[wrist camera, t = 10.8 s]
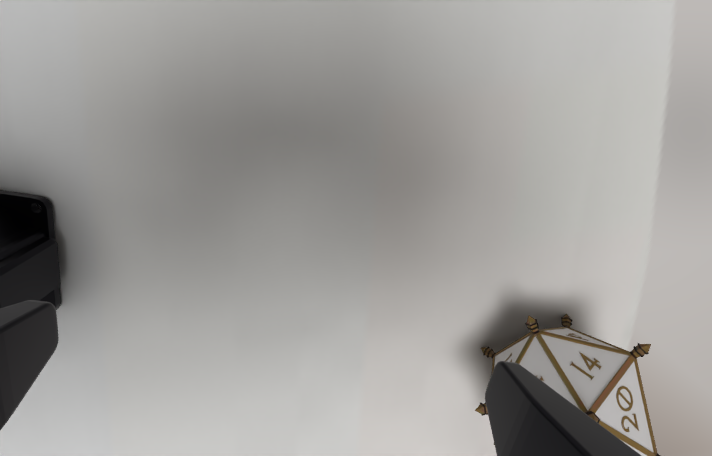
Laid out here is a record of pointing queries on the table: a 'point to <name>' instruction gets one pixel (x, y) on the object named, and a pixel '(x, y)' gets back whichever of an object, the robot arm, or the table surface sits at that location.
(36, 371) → the robot arm
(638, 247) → the table surface
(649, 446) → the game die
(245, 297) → the table surface
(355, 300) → the table surface
